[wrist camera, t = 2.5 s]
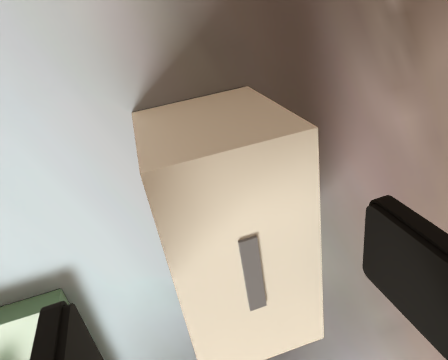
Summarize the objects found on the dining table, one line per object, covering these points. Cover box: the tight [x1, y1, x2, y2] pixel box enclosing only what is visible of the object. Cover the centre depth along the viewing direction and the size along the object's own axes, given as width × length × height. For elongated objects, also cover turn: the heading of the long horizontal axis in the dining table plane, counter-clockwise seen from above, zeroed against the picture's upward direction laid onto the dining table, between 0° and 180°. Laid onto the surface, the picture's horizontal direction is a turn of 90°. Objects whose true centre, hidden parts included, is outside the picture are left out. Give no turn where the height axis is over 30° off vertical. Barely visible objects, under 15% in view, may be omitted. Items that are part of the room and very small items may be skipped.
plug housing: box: [132, 86, 324, 360], centre depth 14 cm, size 5×9×6 cm, turn 9°
